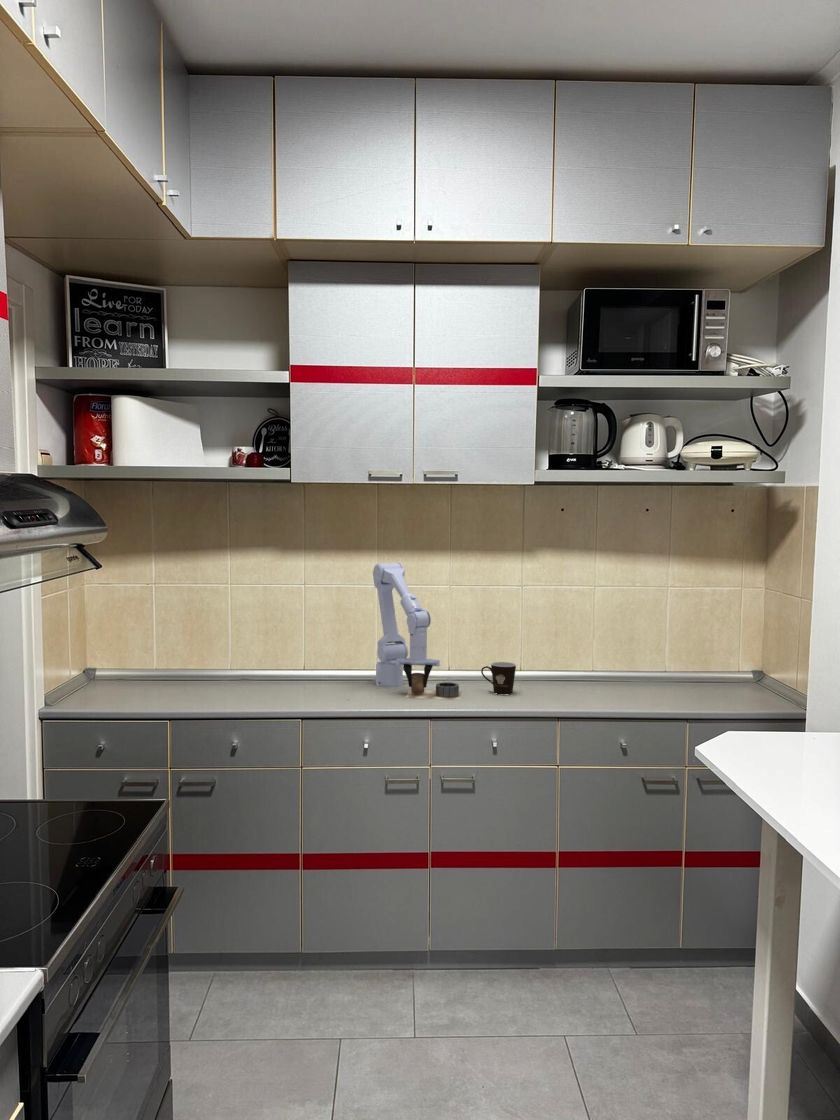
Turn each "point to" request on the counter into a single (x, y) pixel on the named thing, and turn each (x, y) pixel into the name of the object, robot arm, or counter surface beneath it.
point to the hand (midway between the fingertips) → (417, 686)
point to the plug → (417, 682)
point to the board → (429, 695)
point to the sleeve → (447, 690)
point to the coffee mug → (502, 677)
